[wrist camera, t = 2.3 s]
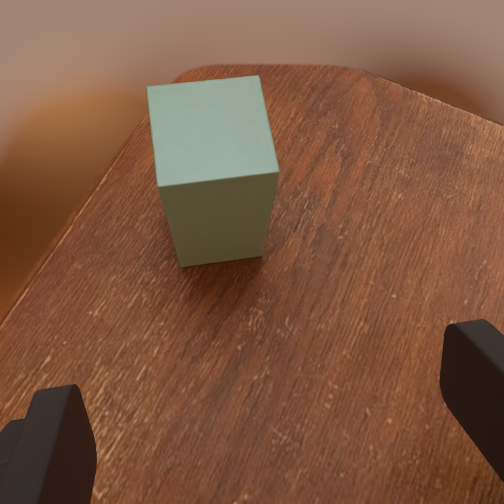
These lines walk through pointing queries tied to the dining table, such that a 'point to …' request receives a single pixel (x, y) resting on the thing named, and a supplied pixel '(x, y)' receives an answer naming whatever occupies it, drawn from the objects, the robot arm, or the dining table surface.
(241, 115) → the green carton
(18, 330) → the dining table surface
